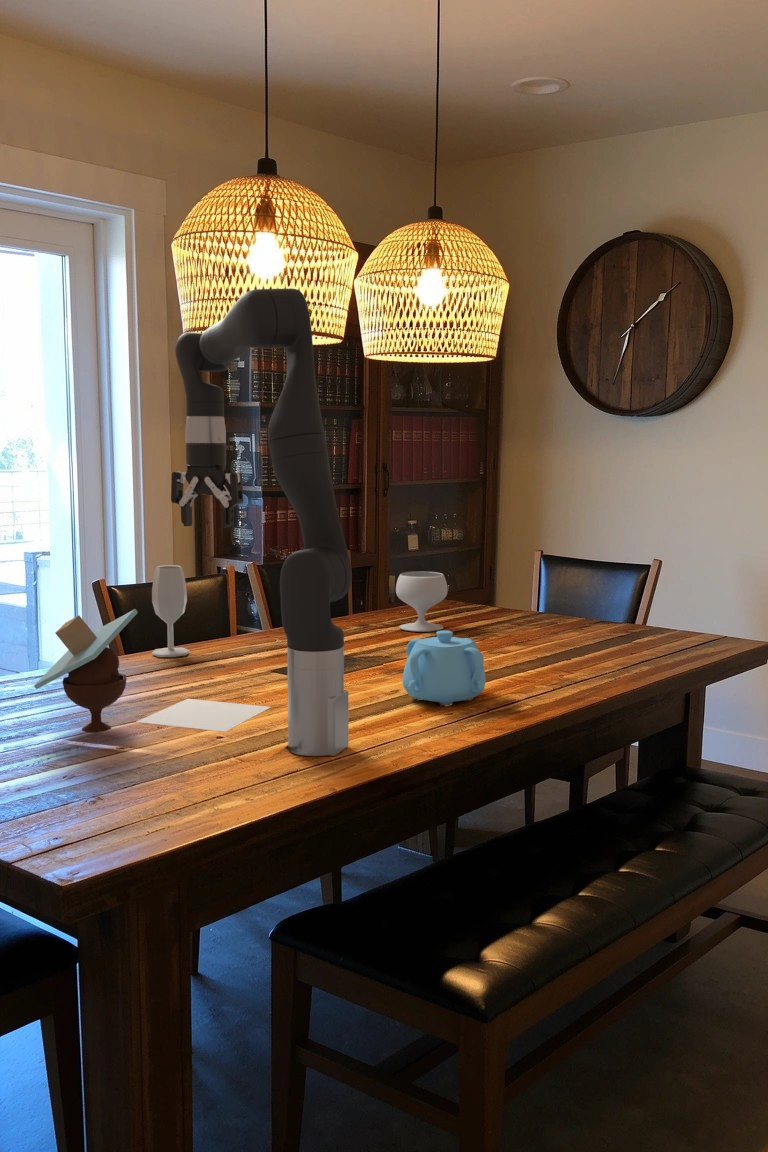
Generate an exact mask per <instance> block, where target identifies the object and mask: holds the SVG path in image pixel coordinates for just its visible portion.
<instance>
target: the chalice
mask: <svg viewBox="0 0 768 1152" xmlns="http://www.w3.org/2000/svg"><path fill="white" fill-rule="evenodd" d="M448 590H449V589H448V583H447V580H446V577H445V574H443V573H441V572H436V571H426V570H425V571H421V570H420V571H405V572H401V573H400V574H399V576H398V578H397V581H396V586H395V593H396V596H397V597H398V599H399V600H401V601H402V602H403V603H405V604H407V605H408V606H410V607H412V608H413V609H414V610H415V611H416V613H417V620H416V621H415V622H409V623H405V624H404V623H403V624H401V625H399V626H398V628H399V629H401V630H403V631H407V632H419V633H420V632H421V633H426V632H428V633H429V632H438V631H442V630H443V629H445V628H444V626H443V625H441V624H438V623H434V622H428V621H427V619H426V618H425V617H426V613H427V611H428V610H430V609H431V608H433V607H434V606H435V605H438V604H439V603H441V602H442V601H444V600H445V598H446V597H447V595H448Z"/></svg>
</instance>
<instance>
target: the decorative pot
mask: <svg viewBox="0 0 768 1152" xmlns="http://www.w3.org/2000/svg"><path fill="white" fill-rule="evenodd" d="M435 632H436V636H432V637H427V638H419V637H418V638H414V639H412V640H410V641H409V642H408V644H407V646H406V654H407V655H406V656H407V660H406V662H405V666H404V669H403V674H402V685H403V688H404V690H405V692H406V693H407V695H409V696H410V697H412V698H414V699H415V698H416V699H423V700H424V701H429V702H435V703H439V704H441V705H450V704H453V705H454V703H456V702H460V701H469V700H468V699H473V700H474V698H475V697H478V696H479V695H480V694H481V693H482V692H484V691H485V686H486V671H485V667H484V666H485V665H484V663H485V660H484V655H483V654H482V652H481V650H479V649H478V644H477V643H476V641H475V640H474V639H472V638H469V637H464V638H463V637H462V638H461V637H455V636H453V634H454V632H453V631H451V630H438V631H435ZM441 705H440V706H441Z"/></svg>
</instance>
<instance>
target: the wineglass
mask: <svg viewBox="0 0 768 1152" xmlns="http://www.w3.org/2000/svg"><path fill="white" fill-rule="evenodd" d="M184 573H185V572H184V570H183V567H182V566H181V565H174V564H173V565H169V564H168V565H158V566H156V567H155V571H154V574H153V579H152V587H151V588H152V589H151V603H152V606H153V610H154V614H155V615H156V616H158V618H159V619H161V620H162V621H164V623H166V626H167V628H166V629H167V647H163V648H155V649H154V650H152V653H151V654H152V656H155V657H157V658H177V657H185V656H187V655H189V653H190V650H189V649H188V648H185V647H175V645H174V644H175V643H174V623H176V621H178V620H179V618H180V617H181V616H182V615H184V613H185V611H186V607H187V606H186V605H187V602H188V590H187V584H186V583H187V582H186V577H185V574H184Z"/></svg>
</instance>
